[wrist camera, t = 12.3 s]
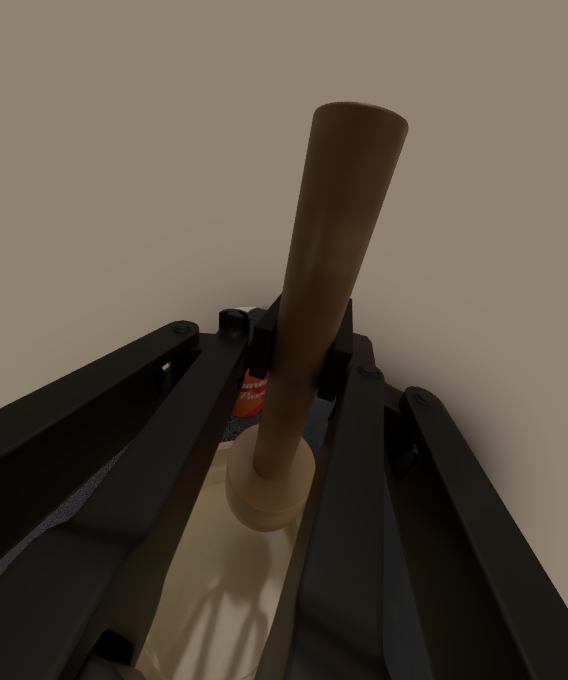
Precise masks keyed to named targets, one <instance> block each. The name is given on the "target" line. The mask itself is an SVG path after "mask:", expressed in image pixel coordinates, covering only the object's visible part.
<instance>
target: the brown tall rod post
mask: <svg viewBox="0 0 568 680" xmlns="http://www.w3.org/2000/svg"><path fill="white" fill-rule="evenodd" d="M407 133H408V123H407V121H406V120H405V119H404V118H402V117H401V116H399V115H398V114H396V113H395V112H392V111H390V110H388V109H385V108H382V107H379V106H375V105H371V104H365V103H358V102H335V103H329V104H325V105H322V106H320V107H319V108H317V109H316V111H315V113H314V115H313V121H312V127H311V132H310V138H309V143H308V149H307V155H306V160H305V166H304V172H303V178H302V184H301V189H300V195H299V200H298V206H297V212H296V217H295V223H294V229H293V234H292V240H291V246H290V252H289V257H288V263H287V269H286V274H285V280H284V286H283V291H282V297H281V303H280V308H279V314H278V320H277V326H276V331H275V337H274V343H273V348H272V354H271V360H270V365H269V371H268V377H267V383H266V388H265V394H264V400H263V405H262V411H261V417H260V422H259V424H257V425H254V426H252V427H250V428H248V429H246V430H245V431H243V432H242V433H241V434H240V435H239V436H238V437H237V438H236V440H235V441H234V442H233V444H232V446H231V448H230V451H229V453H228V458H227V468H226V483H225V492H226V498H227V502H228V505H229V507H230V509H231V511H232V513H233V514H234V516H235V517H236V518H237V519H238V520H239V521H240V522H241V523H242V524H243V525H245V526H246V527H248V528H250V529H252V530H255V531H259V532H273V531H277V530H280V529H282V528H284V527H286V526H287V525H289V524H290V523H291V522H292V521H294V519H295V518H296V517H297V516H298V514H299V513H300V511H301V509H302V507H303V505H304V503H305V501H306V499H307V497H308V494H309V491H310V487H311V484H312V480H313V477H314V473H315V461H314V457H313V454H312V451H311V449H310V447H309V445H308V444H307V442H306V441H305V440H304V439H303V437H302V433H303V431H304V428H305V425H306V422H307V419H308V416H309V413H310V410H311V408H312V405H313V402H314V399H315V396H316V393H317V390H318V388H319V384H320V381H321V379H322V376H323V373H324V370H325V367H326V364H327V361H328V359H329V356H330V353H331V350H332V347H333V344H334V341H335V339H336V336H337V333H338V330H339V327H340V325H341V322H342V319H343V316H344V313H345V310H346V307H347V305H348V302H349V299H350V296H351V293H352V290H353V287H354V284H355V282H356V279H357V276H358V273H359V270H360V267H361V264H362V262H363V259H364V256H365V253H366V250H367V247H368V244H369V241H370V239H371V235H372V233H373V230H374V227H375V224H376V221H377V218H378V216H379V213H380V210H381V207H382V204H383V201H384V198H385V196H386V193H387V190H388V187H389V184H390V181H391V178H392V176H393V173H394V170H395V167H396V164H397V161H398V158H399V156H400V153H401V150H402V147H403V144H404V141H405V138H406V136H407Z"/></svg>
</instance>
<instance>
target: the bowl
mask: <svg viewBox="0 0 568 680" xmlns="http://www.w3.org/2000/svg"><path fill="white" fill-rule="evenodd" d="M233 442H234V441H228V442H221V443H219V446H218V448H217V451H216V453H215V456H214V458H213V461H212V463H211V466H210V468H209V471H208V473H207V476H206V478H205V481H204V483H203V485H202V488H201V490H200V493H199V495H198V498H197V500H196V503H195V505H194V508H193V510H192V513H191V515H190V518H189V520H188V523H187V525H186V528H185V530H184V533H183V535H182V537H181V540H180V542H179V545H178V547H177V550H176V552H175V555H174V557H173V560H172V562H171V565H170V567H169V570H168V573H167V575H166V578H165V582H164V585H163V590H162V594H161V599H160V602H159V605H158V608H157V612H156V614H155V617H154V620H153V623H152V625H151V628H150V630H149V633H148V636H147V638H146V641H145V643H144V646H143V648H142V651H141V654H140V656H139V659H138V661H137V664H136V666H135V669H137V670H139V671H141V672H142V674H143V675H144V677H145V678H146V679H147V680H254V678H255V675H256V671H257V668H258V665H259V661H260V658H261V655H262V652H263V649H264V646H265V643H266V640H267V638H268V635H269V632H270V629H271V626H272V623H273V619H274V616H275V612H276V609H277V605H278V602H279V598H280V594H281V591H282V587H283V584H284V580H285V577H286V573H287V569H288V566H289V562H290V559H291V555H292V552H293V548H294V544H295V541H296V537H297V534H298V530H299V527H300V523H301V519H302V516H303V512H304V509H305V505H306V502H307V499H306V501H305V503H304V505H303V507H302V509H301V511H300V513H299V514H298V516H297V517H296V518H295V519H294V521H292V522H291V523H290V524H289V525H287V526H286V527H284V528H282V529H280V530H277V531H273V532H259V531H255V530H252V529H250V528H248V527H246V526H245V525H243V524H242V523H241V522H240V521H239V520H238V519H237V518H236V517H235V516H234V514H233V513H232V511H231V509H230V507H229V505H228V502H227V498H226V492H225V483H226V468H227V458H228V453H229V451H230V448H231V446H232V444H233ZM307 498H308V497H307Z"/></svg>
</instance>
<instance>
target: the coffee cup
mask: <svg viewBox="0 0 568 680" xmlns="http://www.w3.org/2000/svg"><path fill="white" fill-rule="evenodd" d="M254 308H256V307H239V308H235V309H240V310H243V311H246V312H247V313H248V312H249V311H250V310H251V309H254ZM248 375H249V369H248V370H247V372H246V373H245V381H244V384H243V386H242V389H241V391H240V394H239V396H238V399H237V401H236V404H235V406H234V409H233V411H232V414H233V415H234V416H237V417H242V418H247V417H251V416H254V415H256V414H257V413H258V412H259V411H260V410H261V409H262V405H263V400H264V394H265V388H266V383H267V377H268V372H267V374H266V376H265V378H264V380H261V379H258V378H254V377H251V376H248Z"/></svg>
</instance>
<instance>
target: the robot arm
mask: <svg viewBox="0 0 568 680" xmlns="http://www.w3.org/2000/svg"><path fill="white" fill-rule="evenodd" d="M281 297H282V293H281V295H280V296H279V297H278V298H277V300H276V301H275V302H274V303H273V304H272V305H271V307H270V308H269V309H268V310H265V309H261V308H254V309H251V310H250V311H249V312H248V313H247V312H246V311H243V310H240V309H226V310H223V311H221V312H219V330H218V332H217V333H216V334H208V333H199V327H198V325H197V324H195V323H193V322H190V321H184V320H182V321H175V322H172V323H169V324H167V325H165V326H163V327H161V328H159V329H158V330H155V331H153V332H152V333H149V334H147V335H145V336H143V337H141V338H139V339H137V340H135V341H134V342H131V343H129V344H127V345H125V346H124V347H121V348H119V349H117V350H115V351H113V352H112V353H109V354H107V355H106V356H104V357H102V358H100V359H98V360H96V361H94V362H92V363H90V364H88V365H86V366H84V367H82V368H80V369H78V370H76V371H74V372H72V373H70V374H68V375H66V376H64V377H62V378H60V379H58V380H56V381H54V382H52V383H50V384H48V385H46V386H44V387H42V388H40V389H38V390H36V391H34V392H32V393H30V394H28V395H26V396H24V397H22V398H20V399H18V400H16V401H14V402H12V403H10V404H8V405H6V406H4V407H2V408H0V559H1V558H3V557H4V556H5V555H6V554H7V553H8V552H9V551H10V550H11V549H13V548H14V547H15V546H16V545H17V544H18V543H19V542H20V541H21V540H22V539H24V538H25V537H26V536H27V535H28V534H29V533H30V532H31V531H32V530H34V529H35V528H36V527H37V526H38V525H39V524H40V523H41V522H42V521H44V520H45V519H46V518H47V517H48V516H49V515H50V514H51V513H52V512H54V511H55V510H56V509H57V508H58V507H59V506H60V505H61V504H62V503H64V502H65V501H66V500H67V499H68V498H69V497H70V496H71V495H72V494H73V493H75V492H76V491H77V490H78V489H79V488H80V487H81V486H82V485H83V484H85V483H86V482H87V481H88V480H89V479H90V478H91V477H92V476H93V475H95V474H96V473H97V472H98V471H99V470H100V469H101V468H102V467H103V466H105V465H106V464H107V463H108V462H109V461H110V460H111V459H112V458H113V457H115V456H116V455H117V454H118V453H119V452H120V451H121V450H122V449H123V448H124V447H126V446H127V445H128V444H129V443H130V442H131V441H132V440H133V439H134V438H135V439H134V440H133V441H132V443H131V444H130V445H129V447H128V448H127V449H126V450H125V452H124V453H123V454H122V456H121V457H120V458H119V459H118V461H117V462H116V463H115V465H114V466H113V467H112V469H111V470H110V471H109V472H108V474H107V475H106V476H105V478H104V479H103V480H102V481H101V483H100V484H99V485H98V487H97V488H96V489H95V490H94V492H93V493H92V494H91V496H90V497H89V498H88V499H87V501H86V502H85V503H84V505H83V506H82V507H81V508H80V509H79V510H78V512H77V513H76V514H75V515H74V516H72V517H71V518H70V519H69V520H67V521H66V522H63V523H61V524H58V525H56V526H54V527H51V528H49V529H47V530H46V531H44V532H43V533H42V534H41V535H39V536H38V537H37V538H35V539H34V540H33V541H32V542H31V543H30V544H29V545H28V546H27V547H26V548H25V549H24V550H23V551H22V552H21V553H20V554H19V555H18V556H17V557H16V558H15V559H14V560H13V561H12V563H11V564H10V565H9V566H8V567H7V568H6V570H5V571H4V572H3V573H2V574H1V575H0V680H147V679H146V678H145V677H144V675H143V674H142V672H141V671H139V670H137V669H135V666H136V664H137V661H138V659H139V656H140V654H141V651H142V648H143V646H144V643H145V641H146V638H147V636H148V633H149V630H150V628H151V625H152V623H153V620H154V617H155V614H156V612H157V608H158V605H159V602H160V599H161V594H162V590H163V585H164V582H165V578H166V575H167V573H168V570H169V567H170V565H171V562H172V560H173V557H174V555H175V552H176V550H177V547H178V545H179V542H180V540H181V537H182V535H183V533H184V530H185V528H186V525H187V523H188V520H189V518H190V515H191V513H192V510H193V508H194V505H195V503H196V500H197V498H198V495H199V493H200V490H201V488H202V485H203V483H204V481H205V478H206V476H207V473H208V471H209V468H210V466H211V463H212V461H213V458H214V456H215V453H216V451H217V448H218V446H219V443H220V441H221V438H222V436H223V433H224V431H225V429H226V426H227V424H228V421H229V419H230V416H231V414H232V411H233V409H234V406H235V404H236V401H237V399H238V396H239V394H240V391H241V389H242V386H243V384H244V381H245V373H246V372H247V370H248V369H249V375H248V376H251V377H254V378H258V379H261V380H264V378H265V376H266V374H267V372H268V371H269V365H270V360H271V354H272V348H273V343H274V337H275V331H276V326H277V320H278V314H279V308H280V303H281ZM352 323H353V322H352V299H351V298H350V299H349V302H348V305H347V307H346V310H345V313H344V316H343V319H342V322H341V325H340V327H339V330H338V333H337V336H336V339H335V341H334V344H333V347H332V350H331V353H330V356H329V359H328V361H327V364H326V367H325V370H324V373H323V376H322V379H321V381H320V384H319V388H318V394H317V397H318V398H321V399H324V400H328V401H331V402H333V401H334V399H335V397H336V402H335V404H334V407H333V409H332V411H331V414H330V416H329V418H328V421H329V423H328V427H327V430H326V434H325V437H324V441H323V444H322V448H321V452H320V455H319V459H318V462H317V466H316V469H315V473H314V477H313V480H312V484H311V487H310V491H309V494H308V498H307V502H306V505H305V509H304V512H303V516H302V519H301V523H300V527H299V530H298V534H297V537H296V541H295V544H294V548H293V552H292V555H291V559H290V562H289V566H288V569H287V573H286V577H285V580H284V584H283V587H282V591H281V594H280V598H279V602H278V605H277V609H276V612H275V616H274V619H273V623H272V626H271V629H270V632H269V635H268V638H267V640H266V643H265V646H264V649H263V652H262V655H261V658H260V661H259V665H258V668H257V671H256V675H255V678H254V680H391V678H390V675H389V673H388V670H387V667H386V665H385V660H384V654H383V638H382V634H383V498H384V471H385V475H386V479H387V484H388V488H389V492H390V496H391V501H392V505H393V509H394V513H395V517H396V522H397V526H398V530H399V534H400V539H401V543H402V547H403V551H404V556H405V560H406V564H407V568H408V572H409V577H410V581H411V585H412V589H413V594H414V598H415V602H416V606H417V611H418V615H419V619H420V623H421V628H422V632H423V636H424V640H425V644H426V649H427V653H428V657H429V661H430V666H431V670H432V674H433V678H434V680H568V608H567V606H566V605H565V603H564V601H563V600H562V598H561V597H560V595H559V593H558V592H557V590H556V588H555V587H554V585H553V584H552V582H551V580H550V578H549V577H548V575H547V574H546V572H545V571H544V569H543V567H542V565H541V564H540V562H539V561H538V559H537V557H536V556H535V554H534V552H533V551H532V549H531V547H530V546H529V544H528V543H527V541H526V539H525V538H524V536H523V534H522V533H521V531H520V529H519V528H518V526H517V525H516V523H515V521H514V520H513V518H512V516H511V515H510V513H509V511H508V510H507V508H506V507H505V505H504V503H503V502H502V500H501V499H500V497H499V495H498V493H497V492H496V490H495V489H494V487H493V485H492V484H491V482H490V480H489V479H488V477H487V475H486V474H485V472H484V471H483V469H482V467H481V466H480V464H479V462H478V461H477V459H476V457H475V456H474V454H473V453H472V451H471V449H470V448H469V446H468V444H467V443H466V441H465V440H464V438H463V436H462V435H461V433H460V431H459V430H458V428H457V426H456V425H455V423H454V421H453V420H452V418H451V417H450V415H449V413H448V412H447V410H446V408H445V407H444V405H443V404H442V402H441V401H440V400H439V399H438V398H437V397H436V396H435V395H433V394H432V393H431V392H429V391H427V390H425V389H422V388H419V387H413V386H411V387H408V388H406V390H405V392H402V391H400V390H398V389H396V388H394V387H392V386H390V385H389V384H387V383H386V382H384V375H383V373H382V372H381V371H380V370H379V369H378V368H377V367H376V365H375V359H374V354H373V349H372V342H371V341H370V340H369V339H368V337H367V336H363V335H360V334H356V333H353V324H352ZM167 363H168V364H169V367H168V368H167V369H165V370H163V369H162V367H163V366H164V365H166V364H167Z"/></svg>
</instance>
